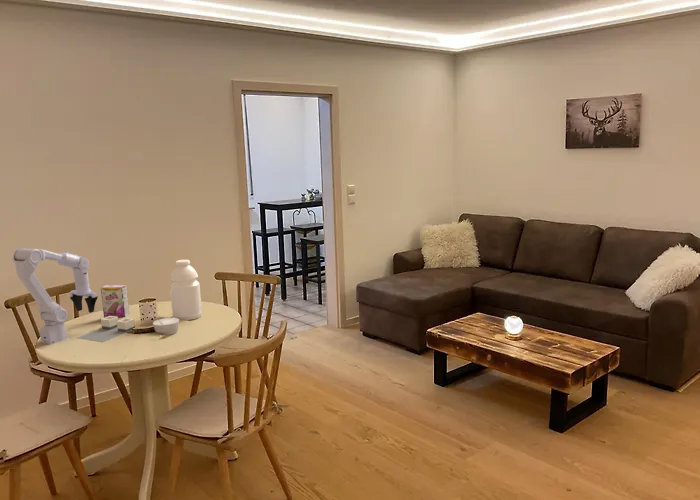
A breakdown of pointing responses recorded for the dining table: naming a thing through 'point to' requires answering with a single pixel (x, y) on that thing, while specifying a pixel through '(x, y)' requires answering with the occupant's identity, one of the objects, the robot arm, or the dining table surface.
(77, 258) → the robot arm
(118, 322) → the seated sleeve
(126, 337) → the dining table surface
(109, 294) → the candy bar box
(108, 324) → the sleeve
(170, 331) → the ramekin
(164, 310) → the dining table surface
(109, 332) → the pin board
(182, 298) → the bottle
